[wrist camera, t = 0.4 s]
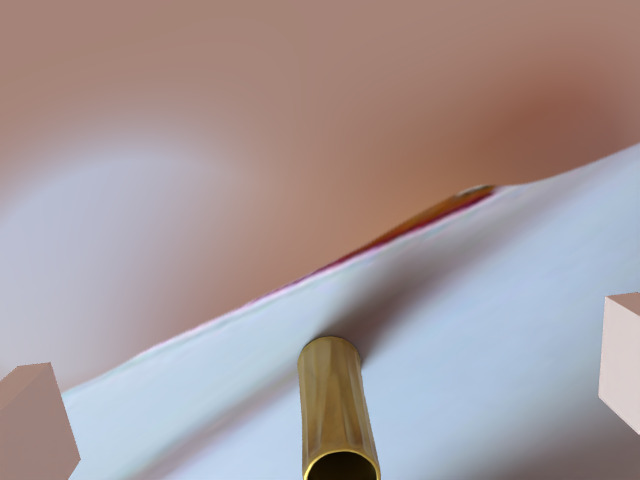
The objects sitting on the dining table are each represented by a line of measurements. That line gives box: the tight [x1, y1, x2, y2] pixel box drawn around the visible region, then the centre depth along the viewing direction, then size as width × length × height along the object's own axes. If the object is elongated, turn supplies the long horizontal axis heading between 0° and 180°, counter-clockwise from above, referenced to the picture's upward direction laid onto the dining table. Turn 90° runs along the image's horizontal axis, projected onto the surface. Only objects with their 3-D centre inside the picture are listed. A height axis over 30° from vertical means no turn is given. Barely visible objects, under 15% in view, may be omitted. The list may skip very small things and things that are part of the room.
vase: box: [298, 336, 381, 480], centre depth 36 cm, size 6×6×14 cm
